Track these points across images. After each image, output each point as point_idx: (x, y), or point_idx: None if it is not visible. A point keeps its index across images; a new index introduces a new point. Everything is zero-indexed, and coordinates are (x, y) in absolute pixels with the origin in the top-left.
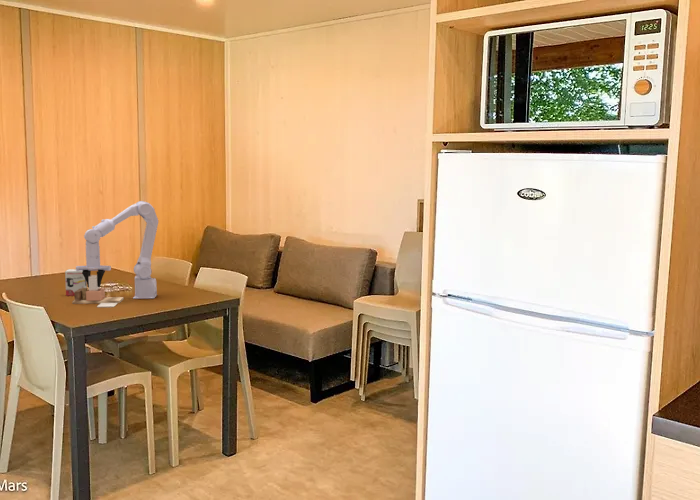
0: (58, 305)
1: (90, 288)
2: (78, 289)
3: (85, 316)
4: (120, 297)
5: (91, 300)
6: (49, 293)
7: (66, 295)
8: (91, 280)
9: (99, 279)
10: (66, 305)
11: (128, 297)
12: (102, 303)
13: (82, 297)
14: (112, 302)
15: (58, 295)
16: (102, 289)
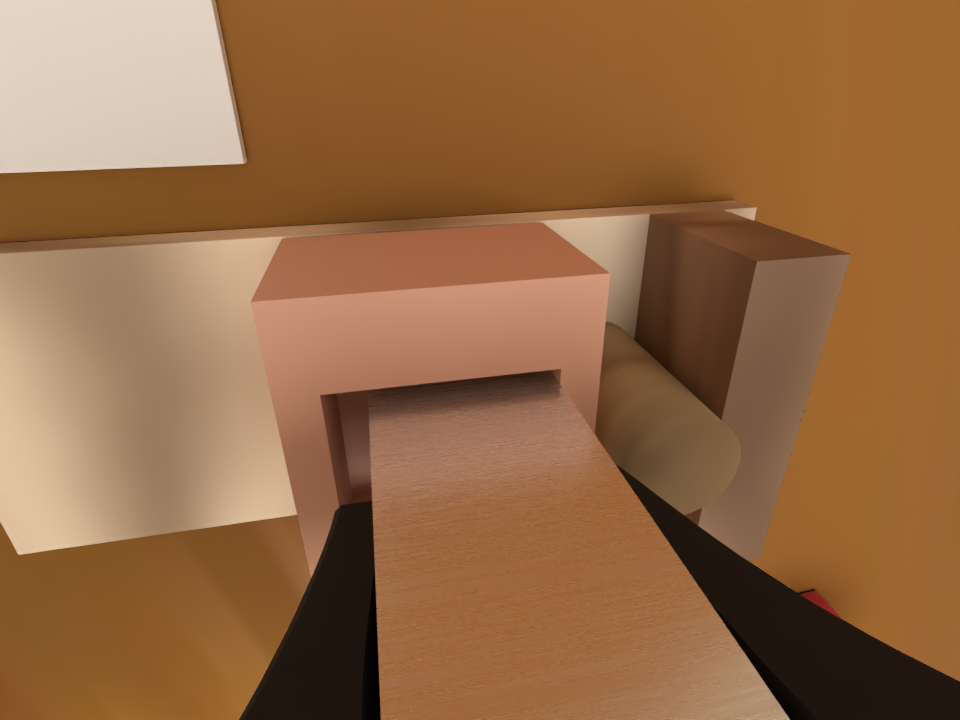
0: (922, 66)
1: (544, 416)
2: (774, 489)
3: None
4: (55, 525)
5: (452, 230)
6: (939, 646)
7: (816, 594)
8: (592, 593)
9: (279, 703)
10: (812, 57)
11: (44, 632)
12: (190, 113)
13: (637, 344)
14: (44, 242)
15: (878, 598)
16: (312, 537)
